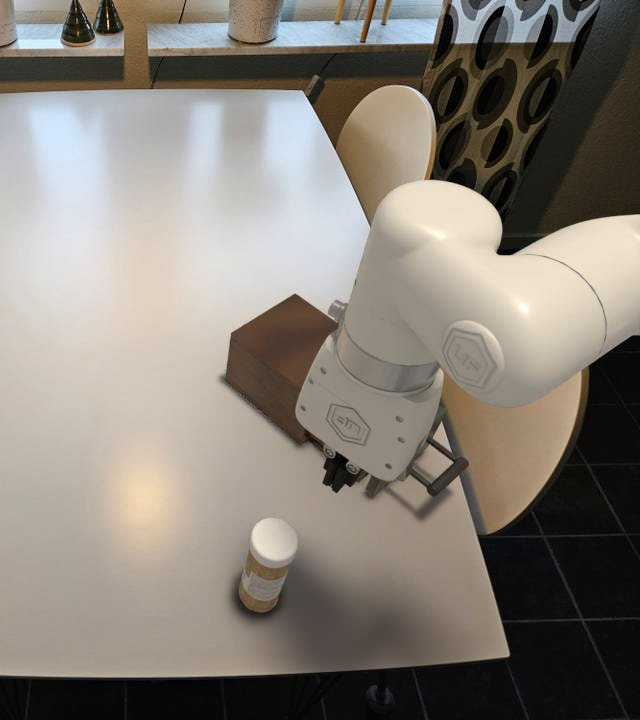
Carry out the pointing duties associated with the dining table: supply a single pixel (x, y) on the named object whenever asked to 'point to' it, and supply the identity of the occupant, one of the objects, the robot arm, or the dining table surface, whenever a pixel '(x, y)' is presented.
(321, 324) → the cabinet
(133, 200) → the dining table surface
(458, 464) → the drawer
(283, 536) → the sprinkles bottle
